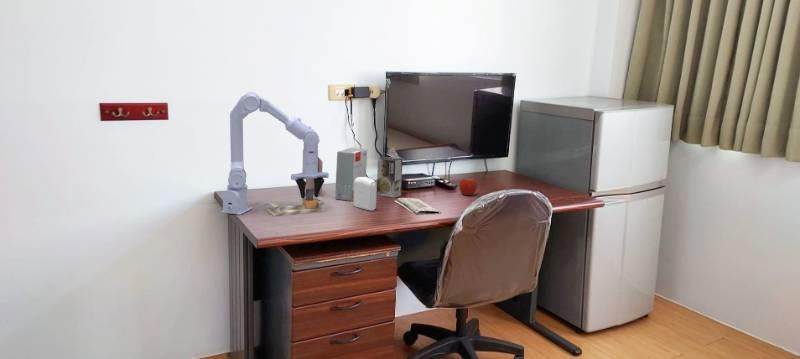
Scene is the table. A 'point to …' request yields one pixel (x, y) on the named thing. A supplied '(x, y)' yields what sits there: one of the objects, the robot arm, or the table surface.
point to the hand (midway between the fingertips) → (309, 197)
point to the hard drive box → (349, 171)
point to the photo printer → (364, 193)
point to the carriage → (309, 199)
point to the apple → (468, 186)
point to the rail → (293, 209)
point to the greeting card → (311, 181)
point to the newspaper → (415, 205)
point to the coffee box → (389, 177)
